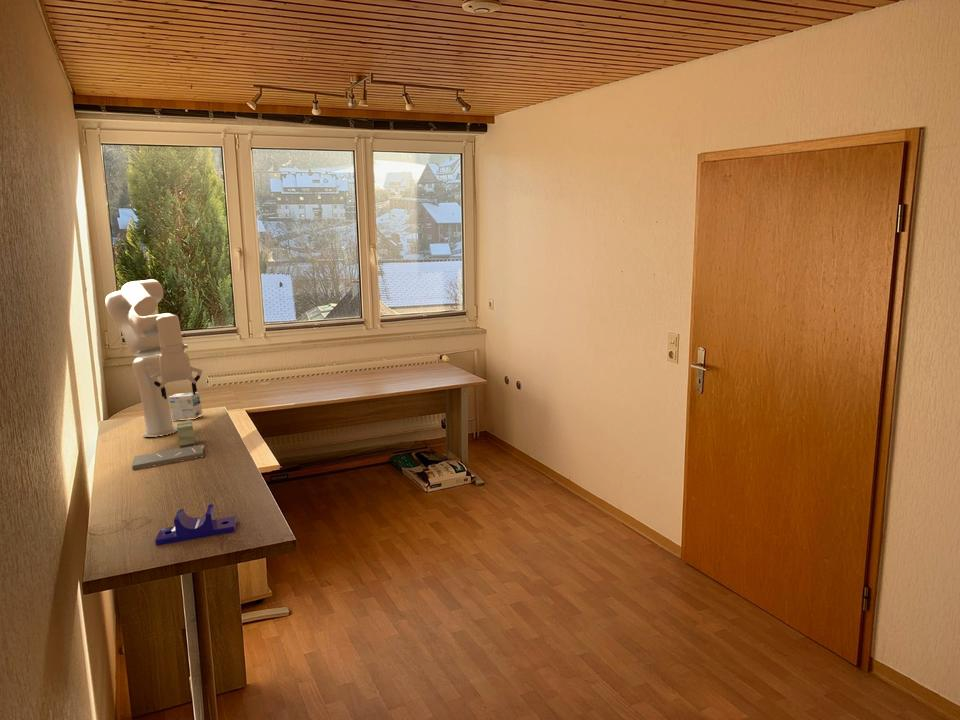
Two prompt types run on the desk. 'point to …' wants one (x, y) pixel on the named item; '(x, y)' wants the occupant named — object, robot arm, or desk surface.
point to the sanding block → (186, 434)
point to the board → (167, 456)
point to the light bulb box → (185, 405)
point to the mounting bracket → (195, 527)
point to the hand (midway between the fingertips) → (180, 396)
